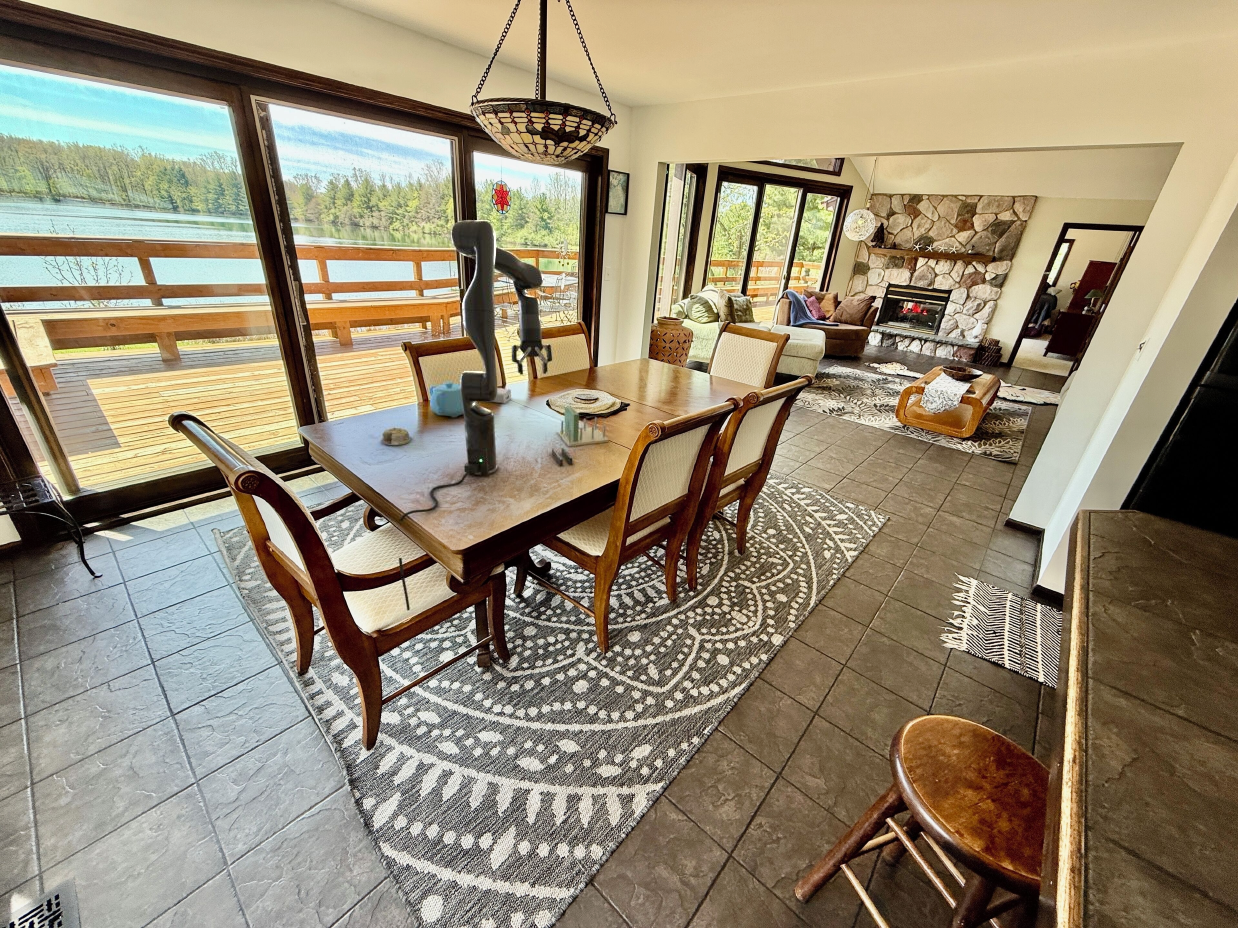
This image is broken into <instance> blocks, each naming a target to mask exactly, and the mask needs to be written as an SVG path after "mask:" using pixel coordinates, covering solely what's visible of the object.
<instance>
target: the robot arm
mask: <svg viewBox="0 0 1238 928" xmlns="http://www.w3.org/2000/svg"><path fill="white" fill-rule="evenodd" d="M495 231H496V230H495V229H494V227H493V224H492V223H491V222H490V221H488V220H484V219H483V220H482V219H477V220H475V219H473V220H471V219H469V220H468V219H467V220H460V221H459V220H458V221H457V222H455V223H454V225H452V227H451V233H450V236H451V242H452V244H453V246H454V248H455V250H456V251H457V252H458V253H459V254H462V255H463V256H465V257H469V258H472V259H474V260H475V271H474V275H473V279H472V281H471V283H470V285H469V286H468V289H467V290H466V293H465V295H464V297H463V300H462V307H461V309H462V311H461V312H462V327H463V329H464V331H465V334H466V335H467V337H468V339H470V342H471V343H472V344H473V346H474V347H475V348H476V350H477V352H478V354H479V356H480V358H481V361H482V364H483V369H484V371H474V370H473V371H472V370H471V371H470V370H466V371H463V372H462V373H461V374H460V377H459V384H460V392H461V399H462V406H463V414H462V415H463V423H464V433H465V434H464V435H465V446H466V459H467V462H465V464H464V466H463V467H464V472H465V473H464V475H463V476H462V477H461V479H460V480H458V481H457V482H454V483H450V484H442V485H437V486H434V487H432V488H431V490H430V491H429V496H430V497H431V499H432V500H433V501H434V505H433V506H431V507H430V508H425V509H423V508H422V509H414V510H410V511H407V512H406V513H404V514H402V516H400V518H399V519H398V521H399V522H402V521H403V520H404V519H405V518H406V517H407V516H409V515H411V514H418V513H426V512H432V511H434V510H436V509H437V507H438V506H439V501H438V500H437V498H436V497H435V495H434V494H433V492H434V491H436V490H438V489H443V488H448V487H453V486H458V485H460V484H462V483H463V482H464V481H465V479H466V477H467V476H468V475H470V476H480V477H481V476H482V477H488V476H489V475H492V474H494V473H496V472H497V470H498V464H497V463H498V462H497V447H496V446H497V445H496V429H495V428H496V427H495V426H496V425H495V414H494V412H493V410H490V409H489V408H486V407H483V406H482V405H481V404H479V403H495V402H494V401H495V400H496V398H497V390H498V388H499V387H498V374H497V363H496V362H497V361H496V360H497V359H496V312H495V311H496V310H495V307H496V306H495V271H497V272H499V273H500V274H502V275H503V276H505V277H506V278H507V279H509V280H511V284H512V285H513V286H512V287H513V289H514V291H515V295H516V298H517V302H518V313H519V314H518V316H519V319H518V324H519V325H518V327H519V340H520V341H519V342H520V344H519V345H518V344H517V345H516V344H512V345H511V362H512V363H515V364H516V366H517V373H518V374H519V375H520V376H522V375H523V376H524V366H523V362H524V360H525V359H526V358H531V357H532V358H538V359H540V361H541V362H542V363H541V367H542V370H541V371H542V374H543V375H546V374H547V373H548V369H549V368H548V363H549V362H552V361H553V355H552V354H553V353H552V345H551V344H543V337H542V322H541V316H540V301H539V298H538V297H536V296H533V295H529V294H528V292H527V290H537V289H540V288H541V287H542V285H543V283H544V275H543V273H542V271H541V270H540V269H539V268H538V267H537V266H536V265H533V264H531V263H528V262H527V261H523V260H521V259H520V258H518V256H516V255H515V254H513V253H512V252H510V251H508V250H506V249H503V248H501V247H498V246H497V238H496V232H495ZM543 349H544V351H545V352H546V353H545V354H546V357H545V355H544V354H543V352H542V351H543ZM519 350H520V351H521V352H522V353H521V354H520V355H519V358H518V353H517V352H518V351H519ZM398 563H399V570H400V571H399V572H400V576H401V575H404V577H403V578H401V582H402V587H403V594H404V598H405V605H406V610H407V611H410V609H411V608H410V601H409V595H408V590H407V585H406V579H405V574H404V573H405V572H404V567H403V558H402V557H398Z"/></svg>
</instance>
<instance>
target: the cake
mask: <svg viewBox="0 0 1238 928" xmlns="http://www.w3.org/2000/svg"><path fill="white" fill-rule="evenodd" d="M411 440H412V439H411V437H410V433H409V431H408V430H407V429H405V428H398V427H393V428H388V429H385V430H384V431H383V432H382V437H381V443H383V444H384V445H387V446H402V445H405V444H408V443H410V442H411Z"/></svg>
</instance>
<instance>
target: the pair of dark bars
mask: <svg viewBox="0 0 1238 928" xmlns="http://www.w3.org/2000/svg"><path fill="white" fill-rule="evenodd" d="M551 455H552V457H553V458H554V460H555V461H556V462H557V464H558V465H559V466H560V467H563V464H564V462H563V461H564V459H565V460H566V462H567V463H568V464H569V465H570V466H572V465H573V457H572V456H571V455H570V453H569V452H568V451H567V449H566V448H565V447H564V446H562V447H561V455H562V457H564V459H563V458H562V457H561V455H560V454H559V452H558V451H557V450H556V449H555V448H554V447H553V448H551Z"/></svg>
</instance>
